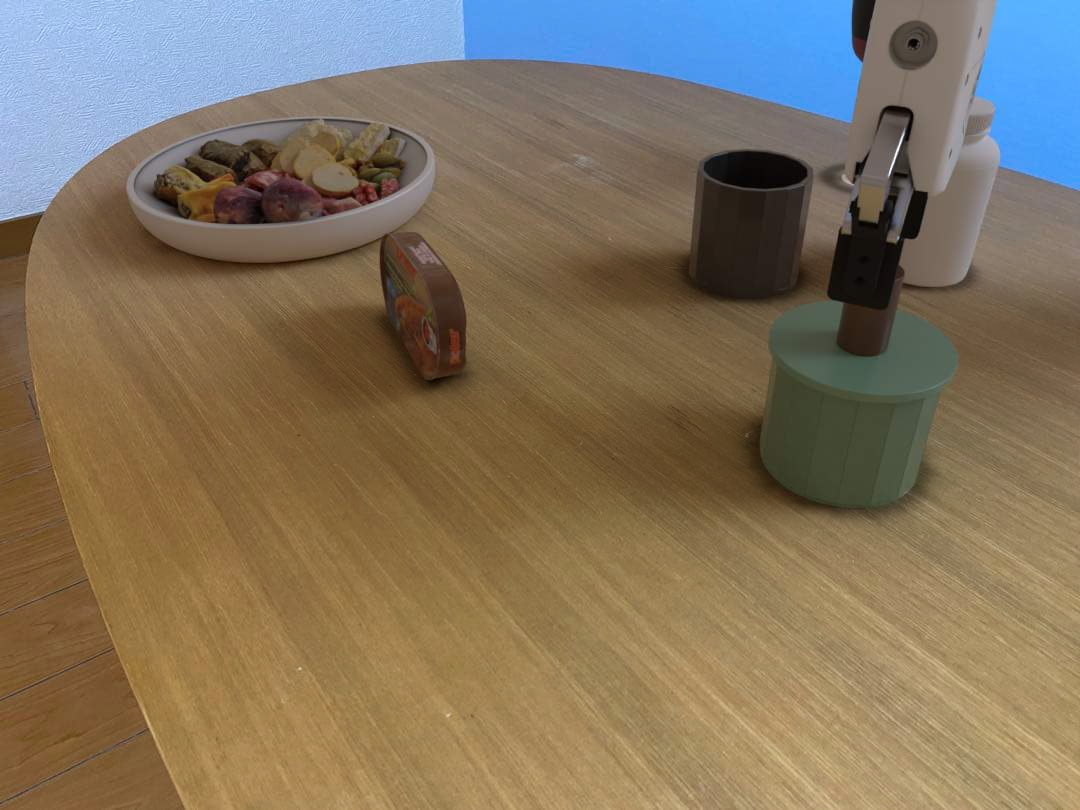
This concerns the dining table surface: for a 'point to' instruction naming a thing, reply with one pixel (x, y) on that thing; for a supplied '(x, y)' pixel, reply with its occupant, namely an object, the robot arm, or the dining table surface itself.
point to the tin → (423, 304)
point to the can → (842, 443)
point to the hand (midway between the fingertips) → (874, 266)
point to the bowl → (282, 188)
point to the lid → (863, 350)
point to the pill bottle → (955, 209)
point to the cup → (749, 222)
